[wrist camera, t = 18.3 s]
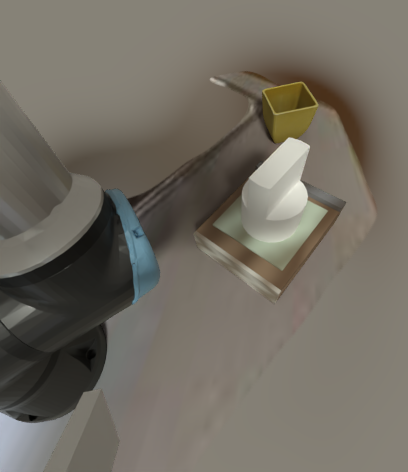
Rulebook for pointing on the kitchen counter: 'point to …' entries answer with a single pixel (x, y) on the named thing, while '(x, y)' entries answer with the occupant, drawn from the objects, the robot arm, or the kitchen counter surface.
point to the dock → (262, 253)
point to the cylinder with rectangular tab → (276, 194)
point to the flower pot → (288, 110)
